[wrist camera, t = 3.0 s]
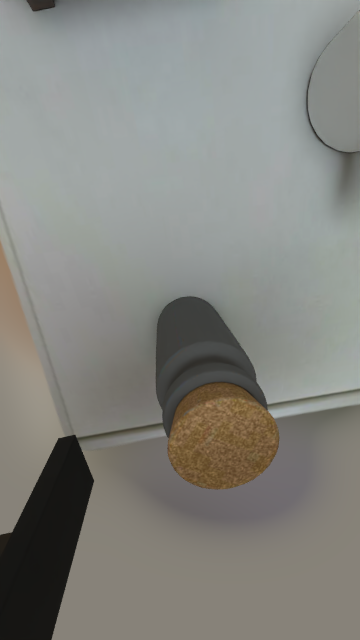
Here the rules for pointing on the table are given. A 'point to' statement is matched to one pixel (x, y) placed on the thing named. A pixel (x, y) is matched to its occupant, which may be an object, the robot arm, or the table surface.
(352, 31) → the mug
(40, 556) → the robot arm
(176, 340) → the bottle
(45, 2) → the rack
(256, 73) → the table surface
